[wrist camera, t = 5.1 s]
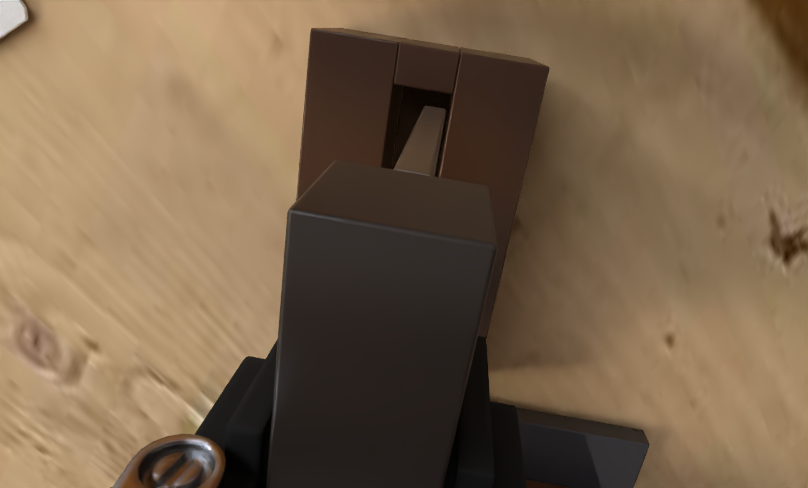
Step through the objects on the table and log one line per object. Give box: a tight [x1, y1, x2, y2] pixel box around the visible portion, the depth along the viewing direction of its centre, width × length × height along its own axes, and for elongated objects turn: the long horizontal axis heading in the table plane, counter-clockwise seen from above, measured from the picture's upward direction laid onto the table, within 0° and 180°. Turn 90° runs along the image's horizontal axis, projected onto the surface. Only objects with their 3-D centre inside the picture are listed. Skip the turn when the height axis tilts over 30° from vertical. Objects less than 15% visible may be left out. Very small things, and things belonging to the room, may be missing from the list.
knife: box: [266, 106, 498, 488], centre depth 13 cm, size 10×2×10 cm, turn 171°
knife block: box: [296, 28, 549, 339], centre depth 21 cm, size 14×7×4 cm, turn 171°
